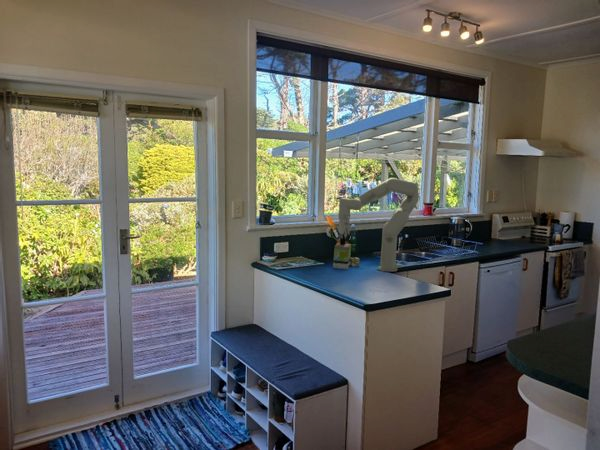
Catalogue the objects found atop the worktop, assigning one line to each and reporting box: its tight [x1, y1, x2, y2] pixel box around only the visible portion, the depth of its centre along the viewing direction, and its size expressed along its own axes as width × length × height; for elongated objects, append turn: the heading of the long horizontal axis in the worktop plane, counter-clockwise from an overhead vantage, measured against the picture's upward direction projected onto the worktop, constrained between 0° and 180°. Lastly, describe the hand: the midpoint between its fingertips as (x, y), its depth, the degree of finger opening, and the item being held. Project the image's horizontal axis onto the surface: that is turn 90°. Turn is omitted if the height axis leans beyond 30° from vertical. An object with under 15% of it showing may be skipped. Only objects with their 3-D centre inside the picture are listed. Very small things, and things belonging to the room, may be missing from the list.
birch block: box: [349, 256, 360, 267], centre depth 306 cm, size 5×5×5 cm
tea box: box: [332, 242, 352, 270], centre depth 300 cm, size 15×10×15 cm
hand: (342, 244), depth 299 cm, fingers closed
